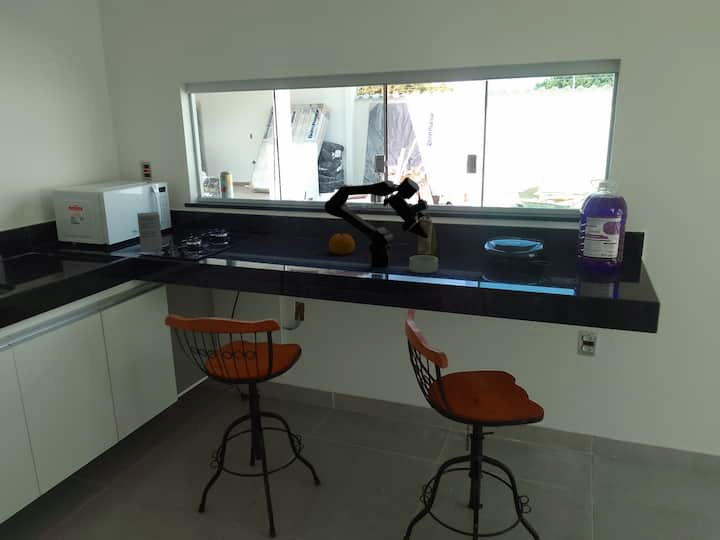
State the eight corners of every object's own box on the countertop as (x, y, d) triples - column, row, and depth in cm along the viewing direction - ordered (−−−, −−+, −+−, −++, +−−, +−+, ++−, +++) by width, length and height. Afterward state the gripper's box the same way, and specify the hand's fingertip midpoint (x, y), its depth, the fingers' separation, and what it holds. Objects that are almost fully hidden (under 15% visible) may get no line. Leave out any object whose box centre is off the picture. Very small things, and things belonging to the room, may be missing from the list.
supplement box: (140, 248, 264) (136, 213, 260) (161, 246, 268) (157, 211, 263) (142, 252, 255) (138, 215, 251) (163, 250, 259) (159, 214, 255)
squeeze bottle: (415, 255, 242) (415, 215, 238) (421, 252, 249) (422, 212, 245) (432, 257, 239) (433, 216, 234) (438, 253, 246) (440, 213, 241)
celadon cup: (408, 272, 215) (408, 261, 214) (410, 265, 225) (410, 254, 224) (437, 273, 213) (437, 262, 212) (438, 266, 223) (438, 255, 222)
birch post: (417, 254, 216) (418, 220, 212) (418, 251, 220) (419, 218, 217) (430, 254, 215) (431, 221, 212) (430, 251, 220) (432, 219, 216)
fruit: (356, 250, 254) (356, 229, 252) (353, 256, 243) (353, 233, 241) (331, 250, 255) (330, 228, 253) (327, 255, 244) (326, 233, 242)
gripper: (411, 195, 204) (439, 227, 204) (420, 190, 221) (447, 219, 221) (390, 215, 208) (418, 246, 208) (401, 208, 226) (427, 237, 225)
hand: (428, 236), depth 216 cm, fingers closed on birch post, 5 cm apart
